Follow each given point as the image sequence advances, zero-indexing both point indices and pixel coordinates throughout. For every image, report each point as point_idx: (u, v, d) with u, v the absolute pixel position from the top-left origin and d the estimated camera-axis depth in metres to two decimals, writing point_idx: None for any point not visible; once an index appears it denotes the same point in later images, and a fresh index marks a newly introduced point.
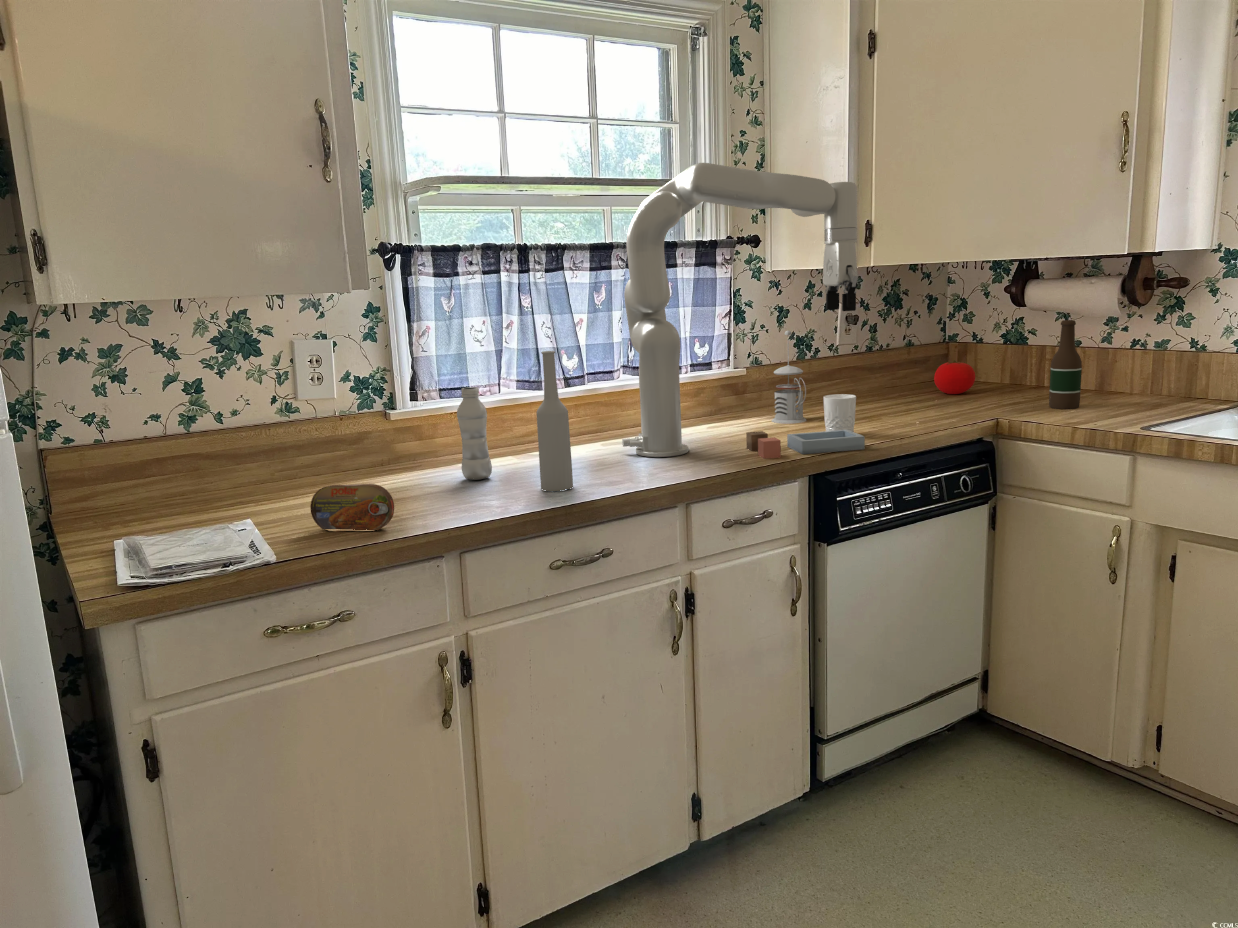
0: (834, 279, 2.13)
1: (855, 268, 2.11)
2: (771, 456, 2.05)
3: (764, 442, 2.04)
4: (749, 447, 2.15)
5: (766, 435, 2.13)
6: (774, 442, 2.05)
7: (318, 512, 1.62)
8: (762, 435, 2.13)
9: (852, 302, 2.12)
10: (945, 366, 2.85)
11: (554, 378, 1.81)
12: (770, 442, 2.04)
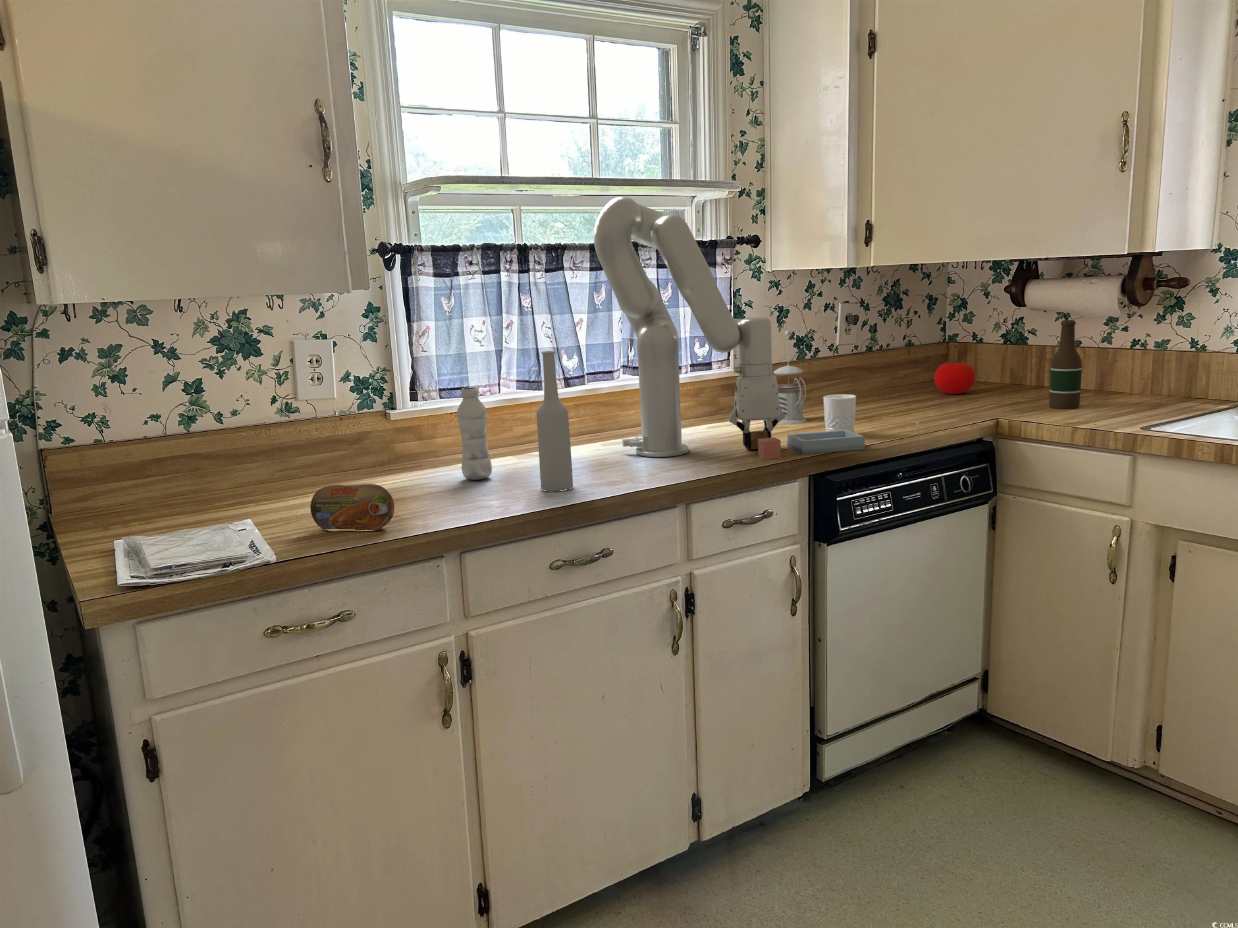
0: (772, 413, 2.12)
1: None
2: (771, 456, 2.05)
3: (764, 442, 2.04)
4: None
5: (766, 432, 2.14)
6: (774, 442, 2.05)
7: (318, 512, 1.62)
8: (762, 432, 2.13)
9: None
10: (945, 366, 2.85)
11: (554, 378, 1.81)
12: (770, 442, 2.04)
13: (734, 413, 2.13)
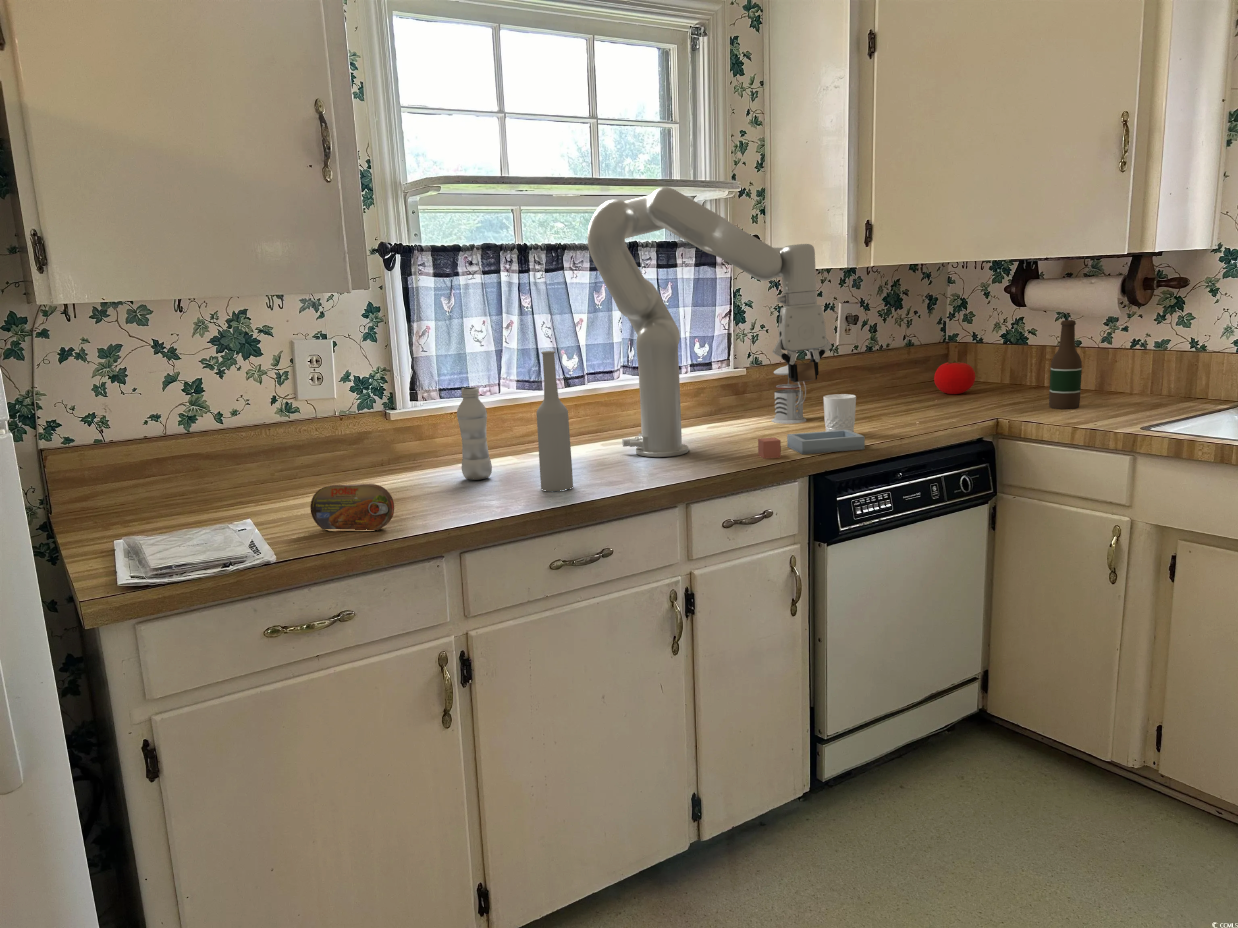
0: (819, 342, 2.06)
1: None
2: (771, 456, 2.05)
3: (764, 442, 2.04)
4: None
5: (812, 363, 2.08)
6: (774, 442, 2.05)
7: (318, 512, 1.62)
8: (808, 363, 2.08)
9: None
10: (945, 366, 2.85)
11: (554, 378, 1.81)
12: (770, 442, 2.04)
13: (779, 344, 2.07)
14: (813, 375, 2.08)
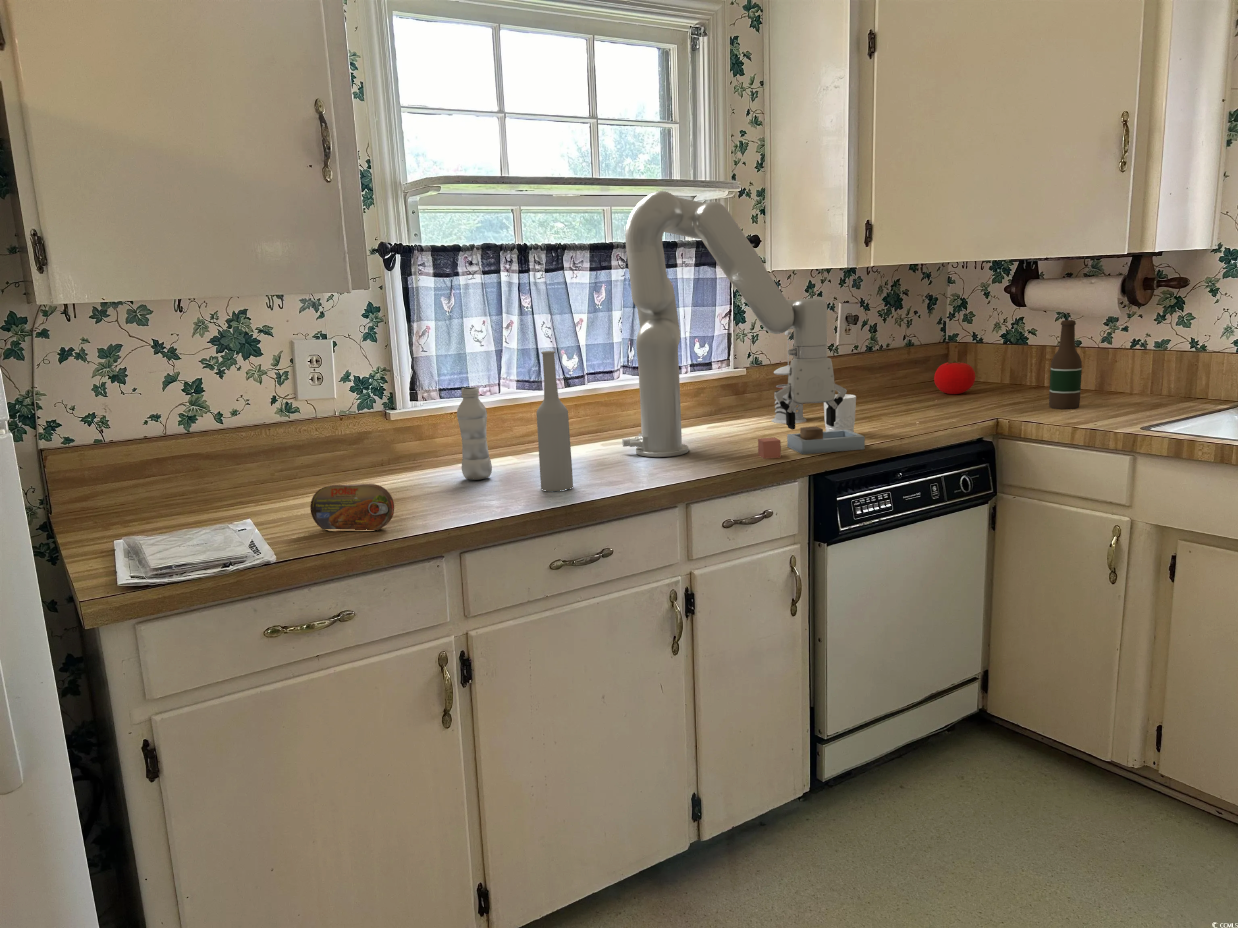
0: (827, 396, 2.08)
1: None
2: (771, 456, 2.05)
3: (764, 442, 2.04)
4: None
5: (821, 430, 2.10)
6: (774, 442, 2.05)
7: (318, 512, 1.62)
8: (817, 430, 2.09)
9: None
10: (945, 366, 2.85)
11: (554, 378, 1.81)
12: (770, 442, 2.04)
13: (784, 391, 2.08)
14: None
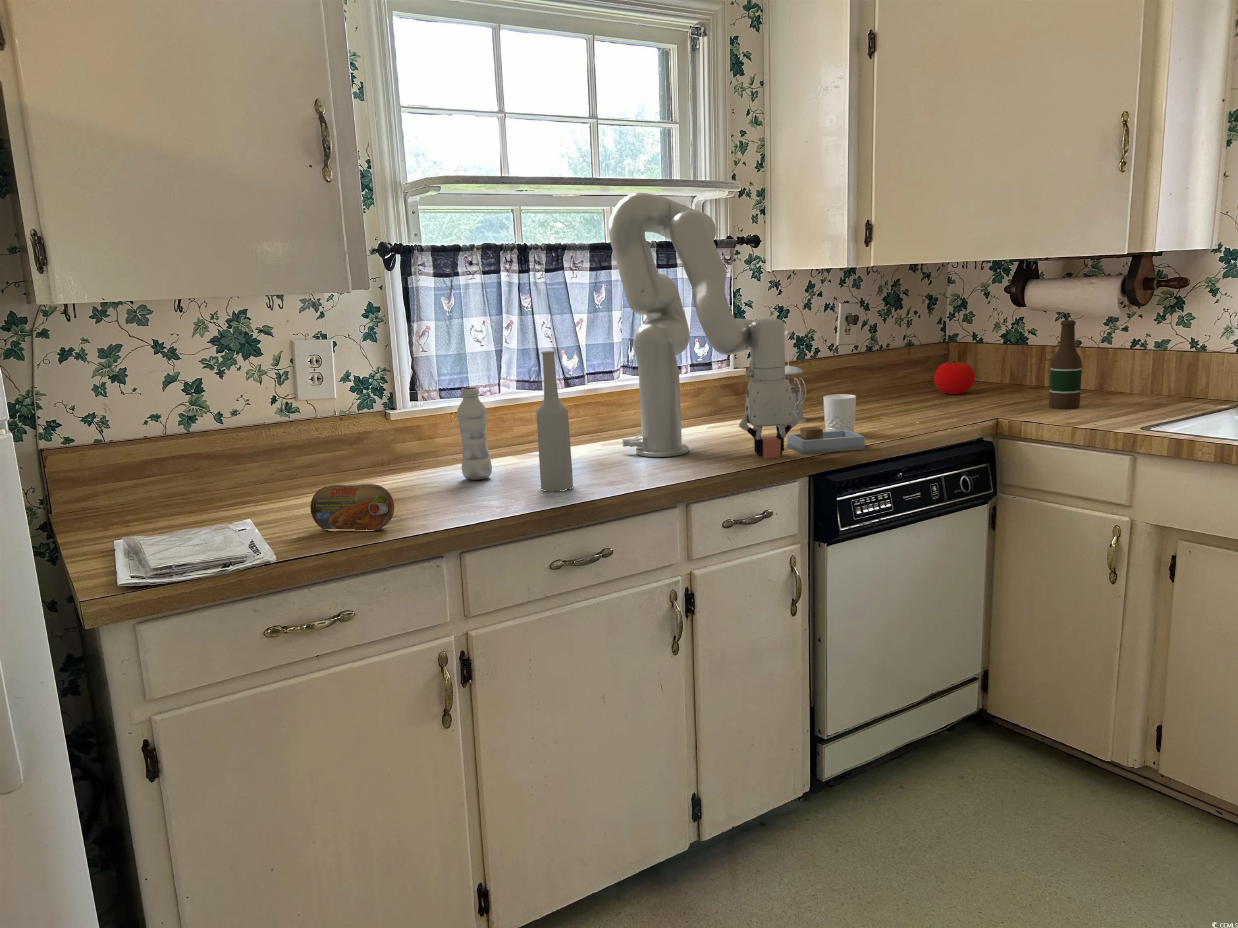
0: (785, 418, 2.03)
1: None
2: (771, 455, 2.05)
3: (764, 441, 2.04)
4: None
5: (821, 430, 2.10)
6: (774, 442, 2.04)
7: (318, 512, 1.62)
8: (817, 430, 2.09)
9: None
10: (945, 366, 2.85)
11: (554, 378, 1.81)
12: (770, 442, 2.04)
13: (745, 419, 2.04)
14: None
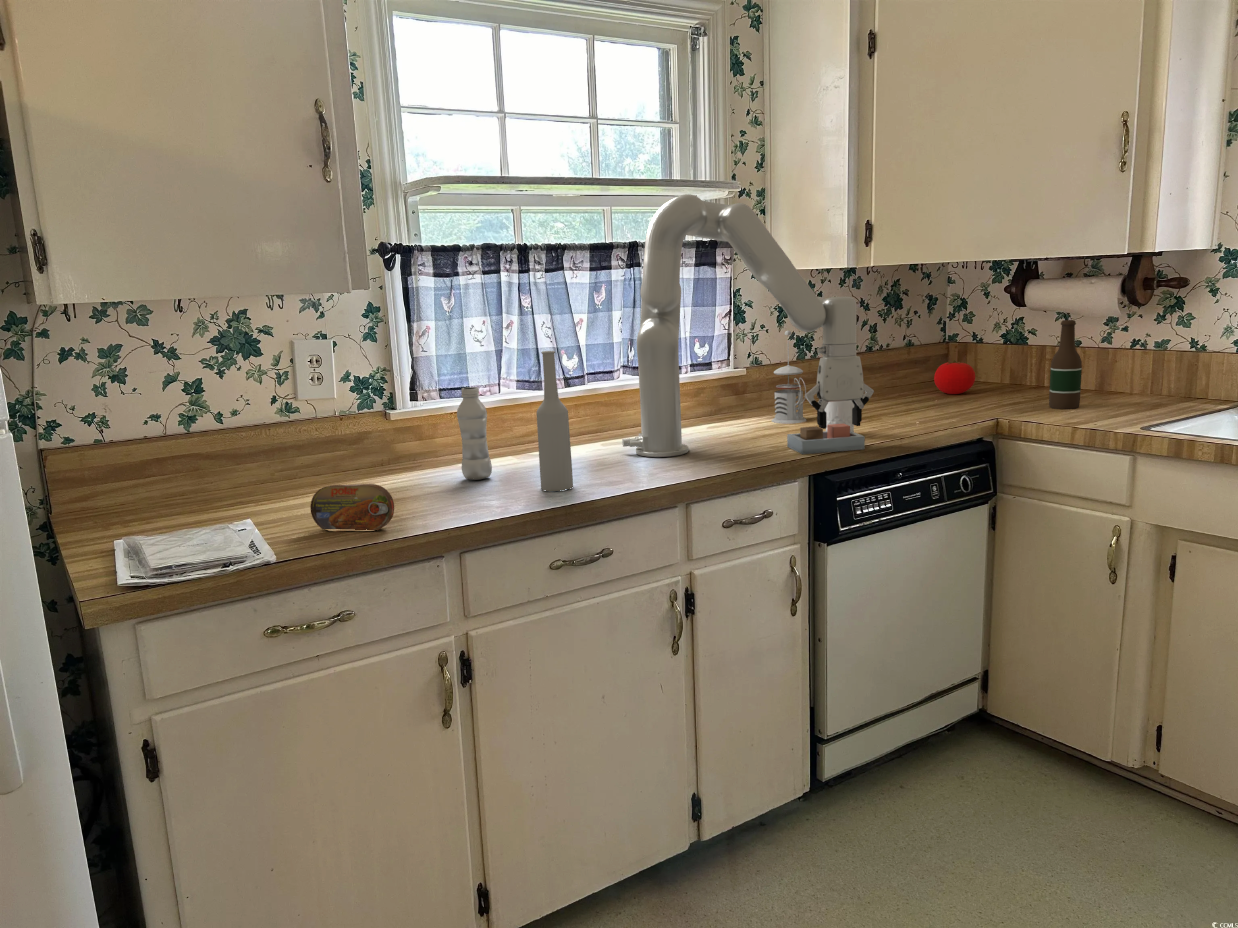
0: (856, 394, 2.09)
1: None
2: None
3: (834, 428, 2.11)
4: None
5: (821, 430, 2.10)
6: (844, 428, 2.11)
7: (318, 512, 1.62)
8: (817, 430, 2.09)
9: None
10: (945, 366, 2.85)
11: (554, 378, 1.81)
12: (840, 428, 2.11)
13: (814, 390, 2.09)
14: None
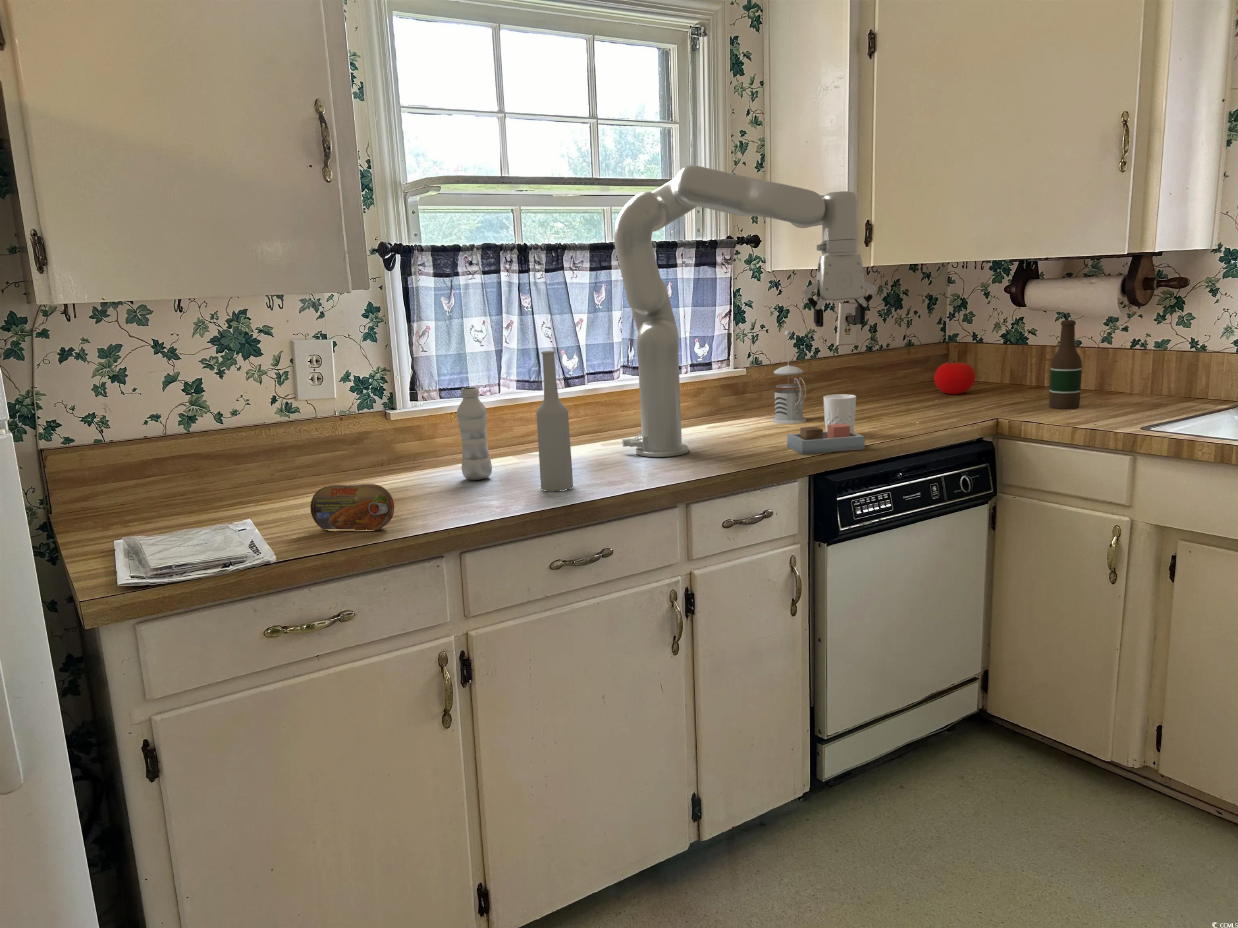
0: (857, 292, 2.04)
1: None
2: None
3: (834, 428, 2.11)
4: None
5: (821, 430, 2.10)
6: (844, 428, 2.11)
7: (318, 512, 1.62)
8: (817, 430, 2.09)
9: None
10: (945, 366, 2.85)
11: (554, 378, 1.81)
12: (840, 428, 2.11)
13: (812, 287, 2.05)
14: None
